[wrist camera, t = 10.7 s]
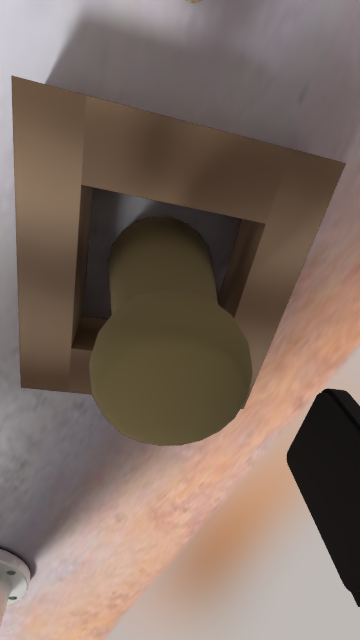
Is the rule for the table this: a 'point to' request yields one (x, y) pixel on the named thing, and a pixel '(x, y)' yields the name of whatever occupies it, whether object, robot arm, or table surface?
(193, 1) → the grandmother figurine
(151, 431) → the cork
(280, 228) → the socket block
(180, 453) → the table surface
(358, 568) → the robot arm
